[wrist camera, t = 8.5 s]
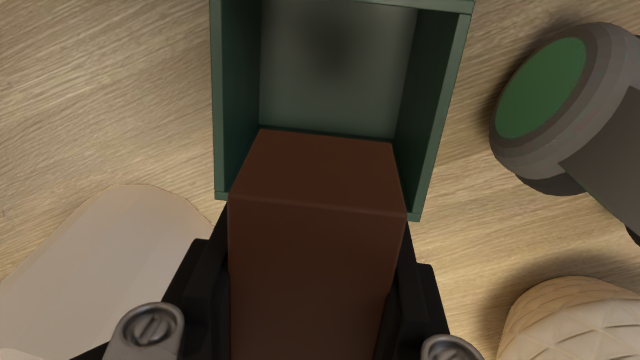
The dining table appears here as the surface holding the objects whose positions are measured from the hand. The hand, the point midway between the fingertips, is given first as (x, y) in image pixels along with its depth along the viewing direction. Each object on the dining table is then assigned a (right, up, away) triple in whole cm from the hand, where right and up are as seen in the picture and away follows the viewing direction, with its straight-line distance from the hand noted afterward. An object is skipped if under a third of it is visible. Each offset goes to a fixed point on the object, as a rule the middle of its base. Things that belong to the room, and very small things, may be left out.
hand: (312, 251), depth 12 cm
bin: (+1, +11, +20) cm, 23 cm away
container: (-17, -4, +30) cm, 34 cm away
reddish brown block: (0, 0, 0) cm, 1 cm away
